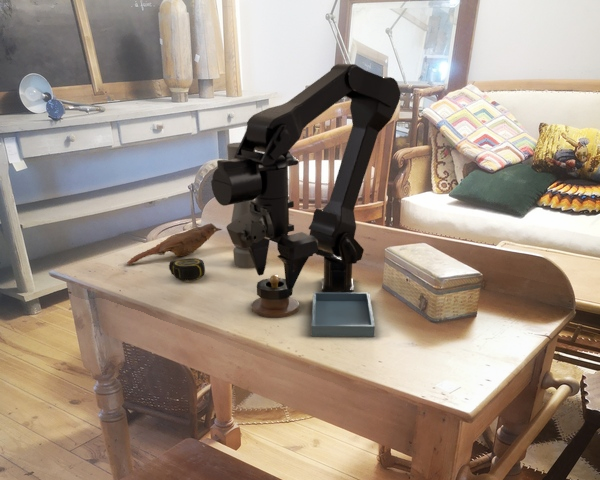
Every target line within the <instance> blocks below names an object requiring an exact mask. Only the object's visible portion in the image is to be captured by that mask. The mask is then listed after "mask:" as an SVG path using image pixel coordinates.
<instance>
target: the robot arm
mask: <svg viewBox="0 0 600 480" xmlns="http://www.w3.org/2000/svg"><path fill="white" fill-rule="evenodd" d="M344 97H345V98H347V99H349V100H351V101H350V105H349V109H350V110H349V111H350V116H351V121H352V125H351V130H350V133H349V135H348V139H347V142H346V146H345V149H344V153H343V155H342V158H341V163H340V164H339V165H340V166H339V168H338V172H337V175H336V178H335V181H334V185H333V188H332V191H331V195H330V198H329V200H328V202H327V204H326V205H325V206H324V207H323V208H322V209H320V208H315V210H314V212H313V216H312V220H311V222H310V225H309V226H308V230H309V234H308V233H306V232H303V231H299V232H297V233H292V234H289V233H290V232H294V231H295V224H292V223H290V209H291V208H294V206H295V203H294V200H292V199H291V200H290V199H289V197H290V196H289V167H292V166H297V165H298V164H299V160H298V159H296V157H294V156H293V155H292V153H291V152H290V150H291V149H292V148H293V147H294V146H295V145H296V143H297V142H298V141H299V140H300V138H301V136H302V133H303V131H304V129H305V128H306V127H307V126H308V125H309V124H311V122H313V121H314V120H316V119H317V118H319V117H320V116H321V115H322V114H323V113H325V112H326V111H327V110H329V109H330V108H332V107H333V106H334V105H335V104H337V103H338V102H340V101H341V100H342V99H344ZM400 100H401V90H400V87H399V84H398V82H397V80H396V79H395V78H394V77H391V76H381V75H379V74H376V73H373V72H371V71H368V70H366V69H364V68H363V67H360V66H358V65H357V64H355V63H337V64H335V65H333V66H332V67H331V68H330V70H329V71H328V72H326V73H325V74H324V75H322V76H321V77H320V78H318V79H317V80H315V81H314V82H312V83H311V84H310V85H309V86H307V87H306V88H304V89H303V90H302V91H300V92H299V93H298V94H297V95H295V96H293V97H292V98H291V99H290V100H288V101H287V102H285V103H283V104H279V105H275V106H272V107H268V108H266V109H264V110H261V111H259V112H257V113H254V114H253V115H251V117H250V118H249V119H248V120H247V123H246V128H245V129H246V130H245V132H244V134H243V137H242V138H241V141H240V142H241V143H240V145H239V147H238V149H237V151H236V154H235V156H234V158H235V159H231V160H228V159H226V158H225V159H218V160H216V161H217V162H216V165H217V168H216V169H215V170H214V172H213V174H212V179H211V181H210V184H211V190H212V191H211V192H212V193H213V196H214V198H215V200H216V202H218V204H220V205H221V206H223V207H226V206H230V205H234V204H235V203H240V202H245V201H250V200H254V201H251V204H250V205H249V208H250V210H249V212H248V213H247V214H244V215H242V216H240V217H239V218H237V219H235V220H234V221H233V222H230V223H228V224H227V225H226V226H225V228H226V231H227V232H228V235H229V239H230V240H231V243H232V244H233V245H234V244H237V245H239V246H241V247H242V248H248V250H249V253H250V255H251V258H252V260H253V263H254V266H255V267H254V268H255V272H256V273H257V276H259V277H260V276H263V275H264V274H265V269H266V266H267V259H268V253H269V248H270V241H271V242H274V243H275V244H276V245H277V246H276V247H277V251H278V253H279V254H278V255H277V256H276V257H277V258H278V259H279V260H280V261H281V262H282V263H283V268H284V269H283V270H284V279H285V280H286V286H287V289H288V290H290V289H292V288H293V289H294V286H295V285H296V283H297V280H298V279H299V276H300V274H301V272H302V271H303V269H304V266H305V264H306V263H307V261H308V260H309V258H310V257H313V256H314V255H317V256H320V257H323V278H321V292H355V286H354V279H353V264H354V265H355V264H357V262H359V261H361V260H362V259H363V254H364V251H365V249H364V248H363V246H361V244H360V243H359V241H357V239H356V238H355V235H356V230H357V222H356V216H355V212H354V211H355V207H356V204H357V201H358V198H359V195H360V191H361V188H362V185H363V182H364V179H365V176H366V173H367V169H368V167H369V164H370V160H371V157H372V154H373V152H374V148H375V144H376V142H377V138H378V135H379V133H380V132H381V131H382V130H383V129H384V128H385V127H386V126H387V125H388V124H389V122H390V121H391V120H392V118H393V116H394V114H395V113H396V109H397V107H398V105H399V103H400ZM254 150H255V152H254Z"/></svg>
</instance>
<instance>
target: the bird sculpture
mask: <svg viewBox="0 0 600 480" xmlns="http://www.w3.org/2000/svg"><path fill="white" fill-rule="evenodd" d="M222 230H223V229H222V228H220V227H219V228H218V227H217V226H215V224H214V223H211V222H210V223H207V224H204V225H202V226H194V227H193V228H190V229H188V230H186V231H183V232H179V233H174V234H172V235H170V236H168V237H167V238H165V240H163V241H161V242H159V244H156V245H155V246H153V247H151V248H149V249H147V250H144V251H142V252H140V253H138V254H135V255H134V256H133V257H131V258H130V259H129V260H128V261H127V264H126V265H127V266H128V265H132V264H135V263H136V262H138V261H139V260H142V259H143V258H146V257H149V256H154V255H159V256H162V255H165V253H169V252H171V253H173V254H174V255H175V256H176V257H184V256H188V255H190V254H192V253H194V252H196V251H197V250H198V249H199V248H201V247H202V246H203V245H204V244H205V243H206V242H207V241H210V239H211V237H212V236H213V235H214V234H215V233H217V232H220V231H222Z"/></svg>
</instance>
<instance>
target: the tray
mask: <svg viewBox="0 0 600 480" xmlns="http://www.w3.org/2000/svg"><path fill="white" fill-rule="evenodd" d="M375 332H376V324H375V318H374V312H373V305H372V301H371V293H370V292H366V291H365V292H364V291H363V292H361V291H359V292H355V291H354V292H322V291H321V292H320V291H319V292H317V291H313V292H312V307H311V337H339V338H340V337H344V338H345V337H347V338H348V337H350V338H351V337H352V338H354V337H356V338H358V337H359V338H362V337H363V338H367V337H368V338H375Z"/></svg>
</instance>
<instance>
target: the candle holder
mask: <svg viewBox="0 0 600 480" xmlns="http://www.w3.org/2000/svg"><path fill="white" fill-rule="evenodd" d="M240 143H241V141H240V142H231V143H227V145H226V149H227V160H231V159H235V158H234V156H235V154H236V151H237V149H238V147H239V145H240ZM254 152H256V150H254ZM251 201H255V199H254V200H250V201H245V202H240V203H235V204H233V208H232V216H231V222H233V221H234V220H235V219H237V218H239V217H240V216H242V215H244V214H247V213H248V212H249V210H250V208H249V205H250V204H251ZM231 222H230V223H231ZM233 245H234V247H233V250H232V251H233V253H232V254H233V264H234V265H233V266H235V267H237V268H240V269H252V268H255V266H254V263H253V260H252V258H251V255H250V253H249V250H248V248H242V247H241V246H239V245H237V244H233Z"/></svg>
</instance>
